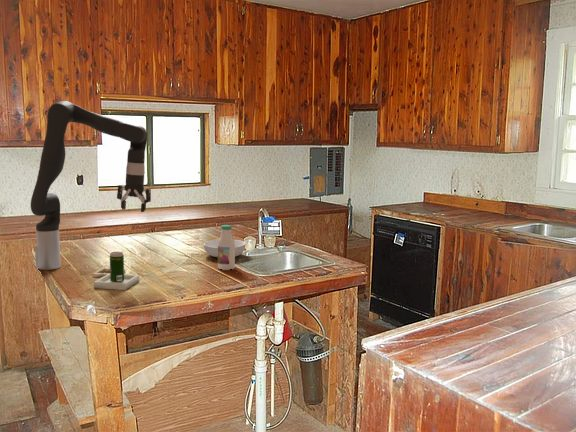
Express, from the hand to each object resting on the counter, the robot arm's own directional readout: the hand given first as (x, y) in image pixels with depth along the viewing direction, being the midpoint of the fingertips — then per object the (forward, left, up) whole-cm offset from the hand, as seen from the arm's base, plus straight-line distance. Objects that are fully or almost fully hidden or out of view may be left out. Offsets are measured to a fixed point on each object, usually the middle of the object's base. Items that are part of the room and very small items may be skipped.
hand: (133, 210), depth 235 cm
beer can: (+1, -18, -27) cm, 32 cm away
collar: (-9, -6, -28) cm, 29 cm away
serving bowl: (+30, +39, -28) cm, 57 cm away
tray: (+1, -19, -28) cm, 33 cm away
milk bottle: (+37, +16, -28) cm, 49 cm away
